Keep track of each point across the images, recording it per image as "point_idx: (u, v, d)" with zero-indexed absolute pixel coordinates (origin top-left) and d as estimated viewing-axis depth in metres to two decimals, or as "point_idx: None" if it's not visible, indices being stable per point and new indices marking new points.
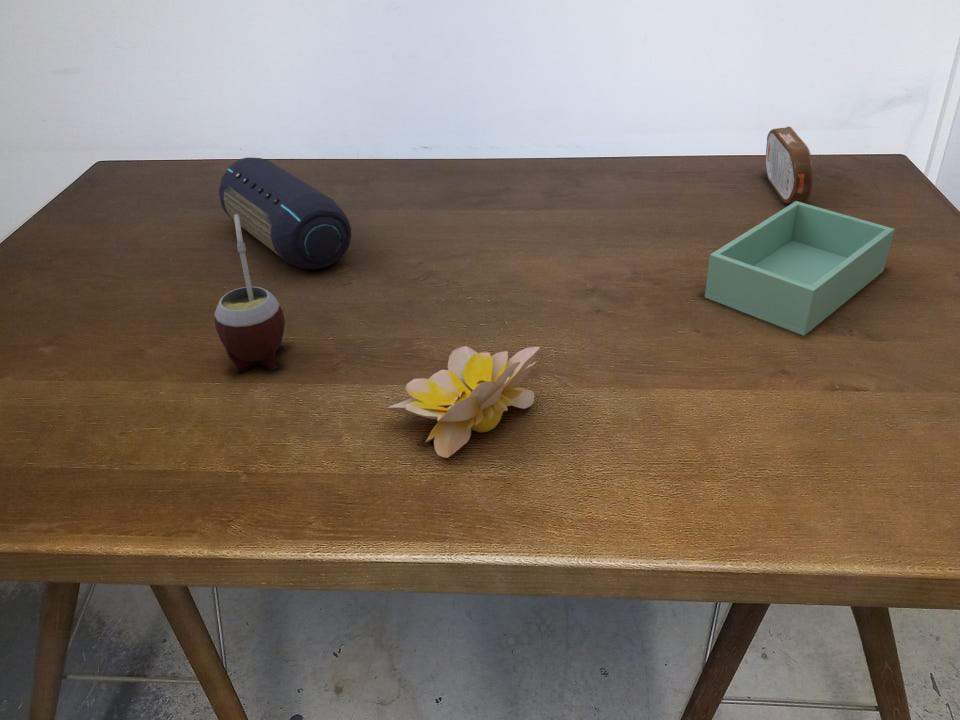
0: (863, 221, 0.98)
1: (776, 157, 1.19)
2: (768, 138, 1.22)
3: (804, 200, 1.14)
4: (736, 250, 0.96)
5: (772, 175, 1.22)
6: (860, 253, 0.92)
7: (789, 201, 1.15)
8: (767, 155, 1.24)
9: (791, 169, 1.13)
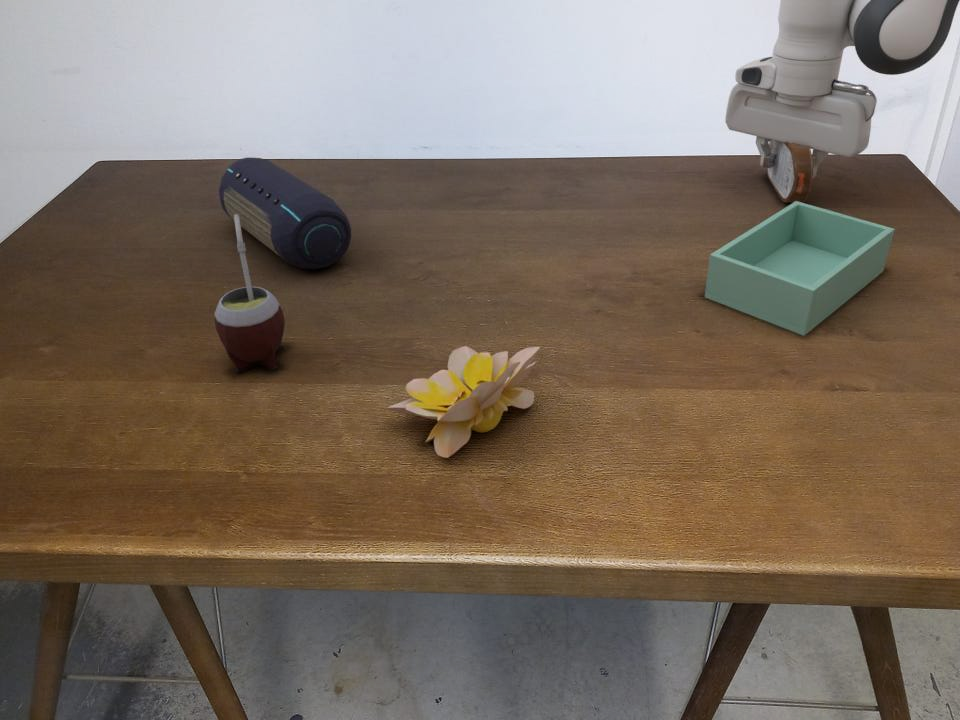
0: (863, 221, 0.98)
1: (777, 156, 1.19)
2: None
3: (803, 200, 1.15)
4: (736, 250, 0.96)
5: (772, 174, 1.22)
6: (860, 253, 0.92)
7: (788, 200, 1.15)
8: None
9: (792, 168, 1.13)
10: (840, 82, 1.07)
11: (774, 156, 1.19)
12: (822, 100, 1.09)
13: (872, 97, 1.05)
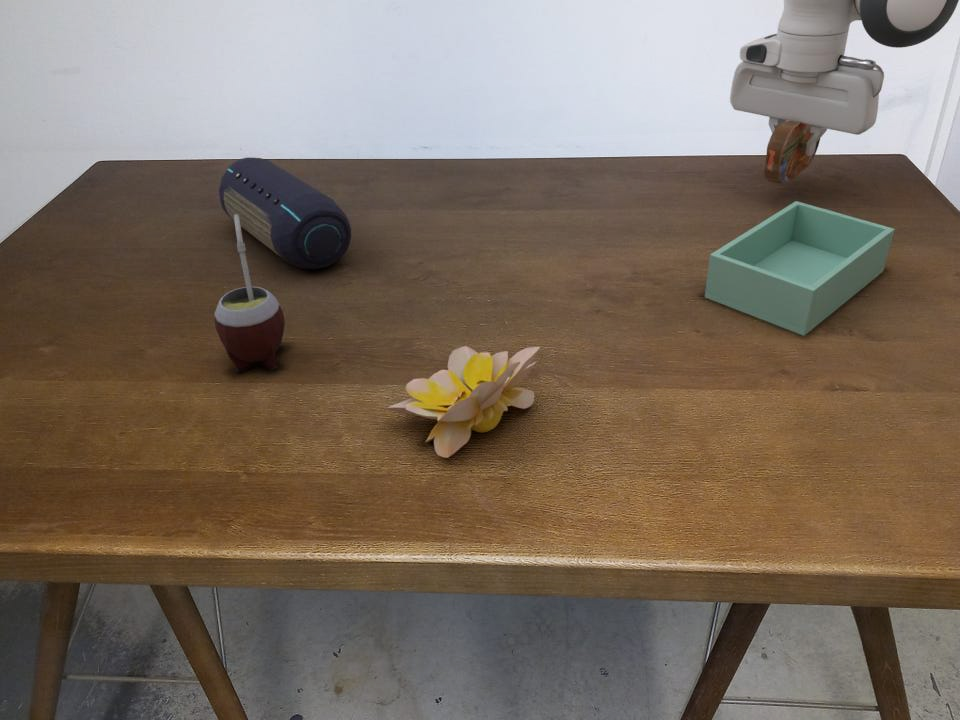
0: (863, 221, 0.98)
1: None
2: None
3: (778, 180, 1.14)
4: (736, 250, 0.96)
5: None
6: (860, 253, 0.92)
7: (765, 177, 1.15)
8: None
9: None
10: (847, 57, 1.06)
11: None
12: (828, 76, 1.07)
13: (879, 71, 1.03)
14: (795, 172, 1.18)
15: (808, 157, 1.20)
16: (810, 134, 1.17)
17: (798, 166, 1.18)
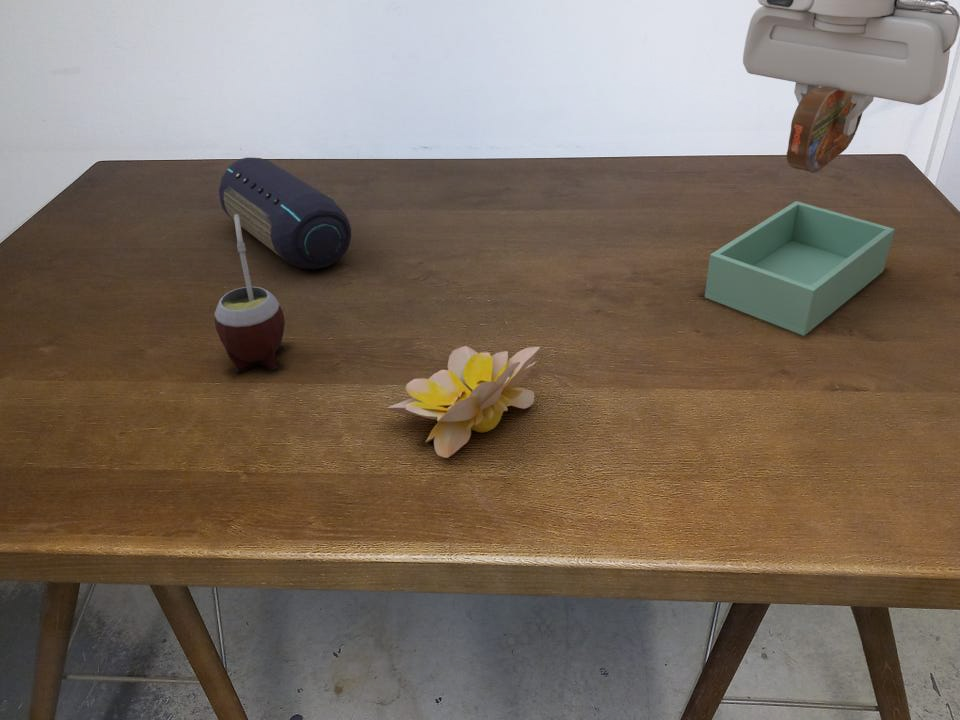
0: (863, 221, 0.98)
1: None
2: None
3: (806, 166, 0.84)
4: (736, 250, 0.96)
5: None
6: (860, 253, 0.92)
7: (788, 162, 0.86)
8: None
9: None
10: None
11: None
12: (881, 24, 0.78)
13: (954, 16, 0.74)
14: (828, 157, 0.88)
15: (845, 138, 0.91)
16: (850, 107, 0.88)
17: (831, 149, 0.89)
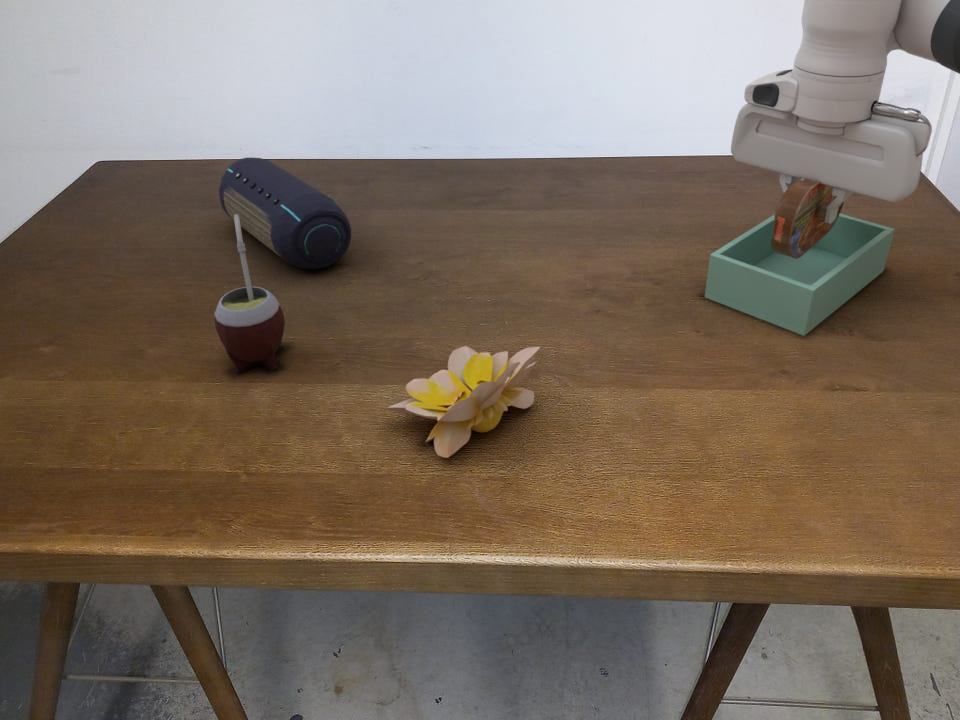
0: (863, 221, 0.98)
1: None
2: None
3: (788, 254, 0.90)
4: (736, 250, 0.96)
5: None
6: (860, 253, 0.92)
7: (772, 248, 0.91)
8: None
9: None
10: (883, 104, 0.82)
11: None
12: (858, 128, 0.83)
13: (925, 124, 0.80)
14: (811, 241, 0.94)
15: None
16: None
17: (815, 233, 0.94)
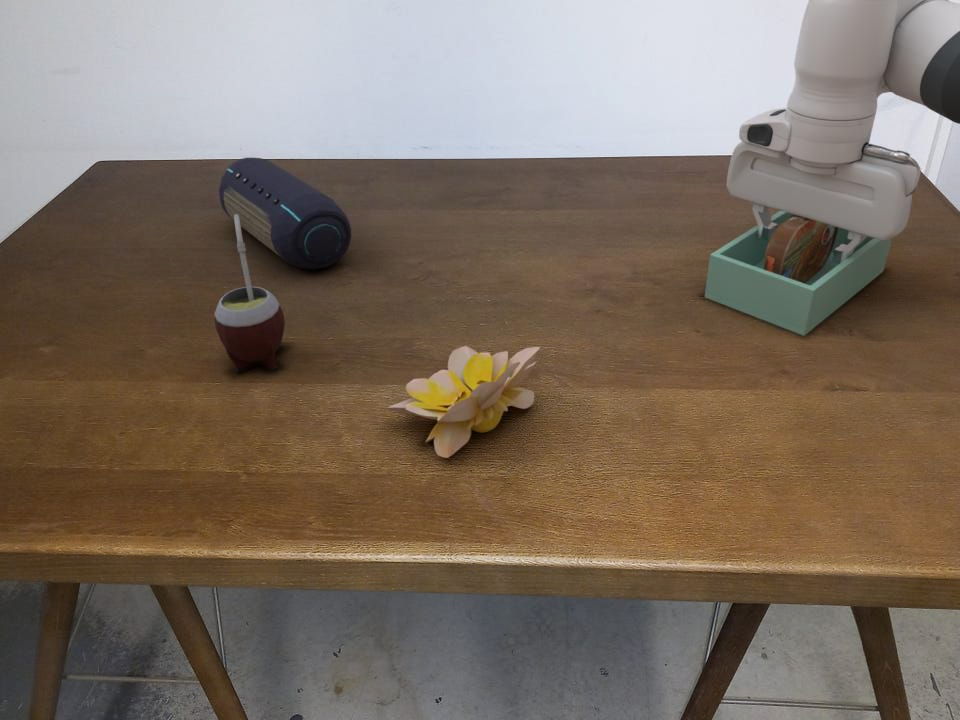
0: None
1: None
2: None
3: None
4: (736, 250, 0.96)
5: None
6: (860, 253, 0.92)
7: None
8: None
9: None
10: (873, 146, 0.84)
11: (775, 226, 0.97)
12: (850, 168, 0.85)
13: (914, 167, 0.82)
14: (804, 278, 0.96)
15: (821, 258, 0.99)
16: (822, 232, 0.96)
17: (807, 270, 0.97)
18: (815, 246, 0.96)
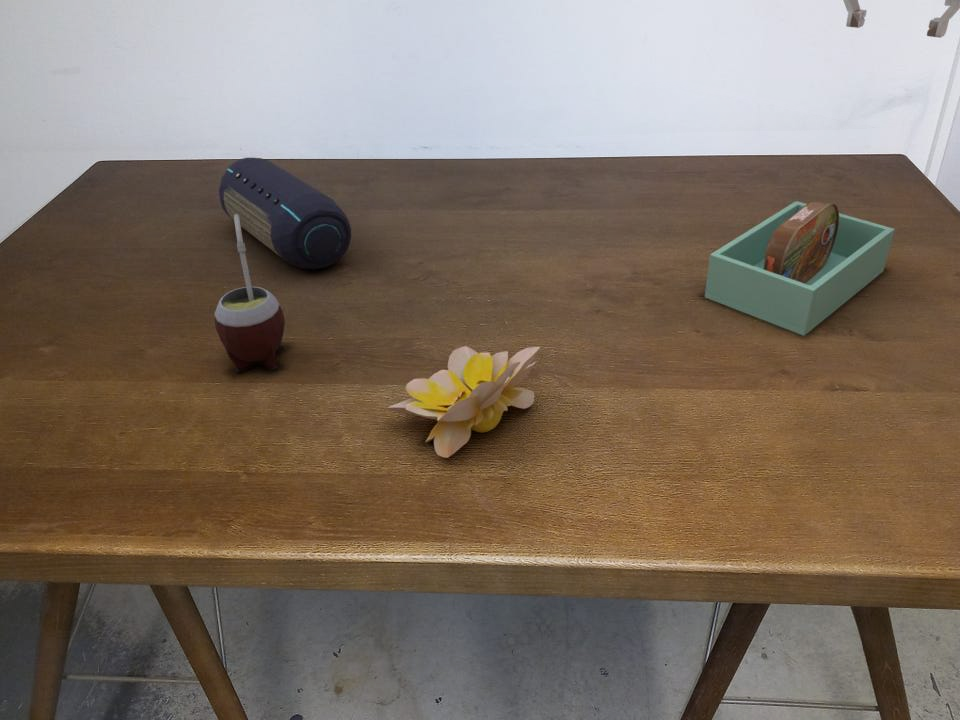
0: (863, 221, 0.98)
1: None
2: None
3: None
4: (736, 250, 0.96)
5: None
6: (860, 253, 0.92)
7: None
8: None
9: None
10: None
11: (864, 12, 0.98)
12: None
13: None
14: (804, 278, 0.96)
15: (821, 258, 0.99)
16: (822, 232, 0.96)
17: (807, 270, 0.97)
18: (815, 246, 0.96)
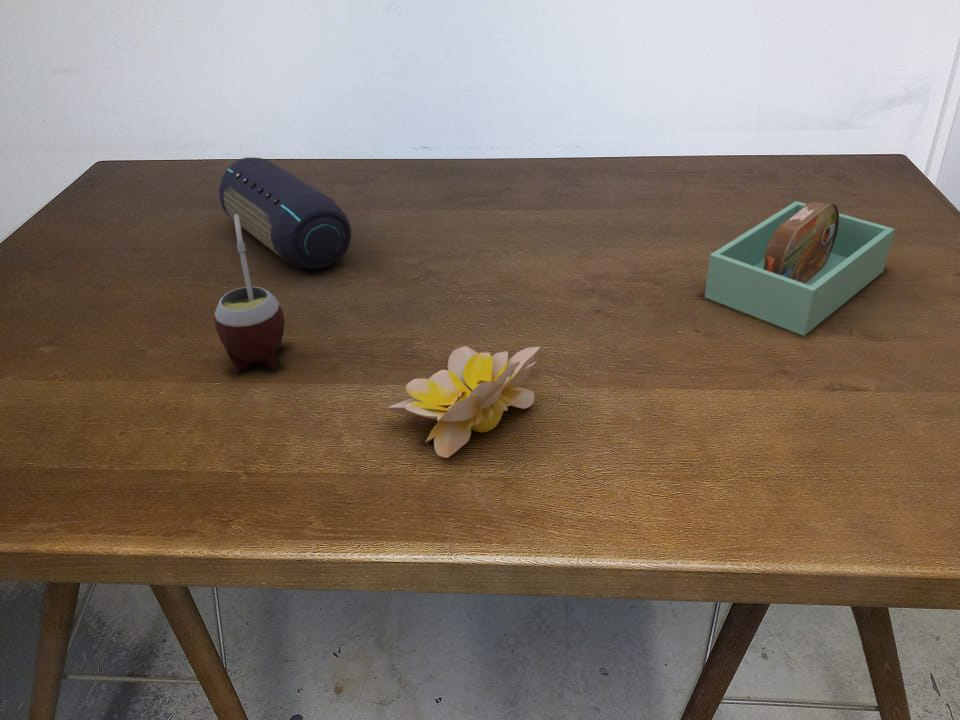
0: (863, 221, 0.98)
1: None
2: None
3: None
4: (736, 250, 0.96)
5: None
6: (860, 253, 0.92)
7: None
8: None
9: None
10: None
11: None
12: None
13: None
14: (804, 278, 0.96)
15: (821, 258, 0.99)
16: (822, 232, 0.96)
17: (807, 270, 0.97)
18: (815, 246, 0.96)
